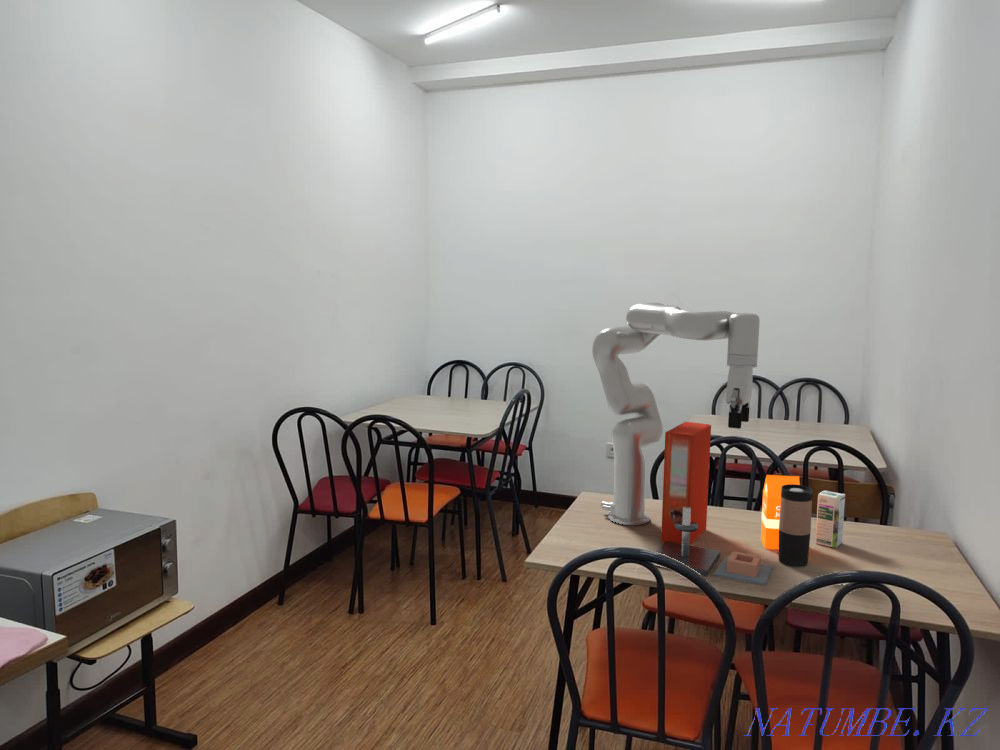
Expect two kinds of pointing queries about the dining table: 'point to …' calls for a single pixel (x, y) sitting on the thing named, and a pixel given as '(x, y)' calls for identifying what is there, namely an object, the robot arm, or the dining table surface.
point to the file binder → (685, 478)
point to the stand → (690, 548)
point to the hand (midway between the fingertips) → (738, 424)
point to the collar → (744, 564)
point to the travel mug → (795, 525)
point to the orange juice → (773, 508)
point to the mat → (759, 579)
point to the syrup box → (830, 518)
